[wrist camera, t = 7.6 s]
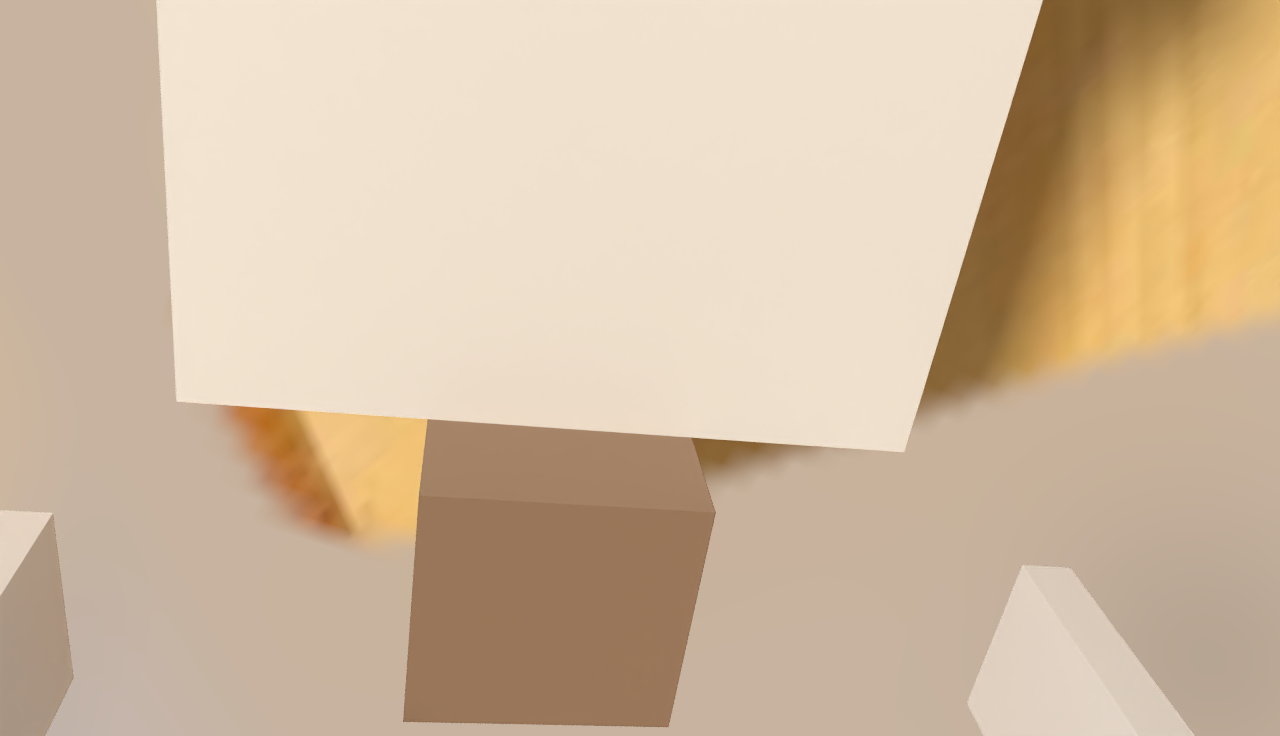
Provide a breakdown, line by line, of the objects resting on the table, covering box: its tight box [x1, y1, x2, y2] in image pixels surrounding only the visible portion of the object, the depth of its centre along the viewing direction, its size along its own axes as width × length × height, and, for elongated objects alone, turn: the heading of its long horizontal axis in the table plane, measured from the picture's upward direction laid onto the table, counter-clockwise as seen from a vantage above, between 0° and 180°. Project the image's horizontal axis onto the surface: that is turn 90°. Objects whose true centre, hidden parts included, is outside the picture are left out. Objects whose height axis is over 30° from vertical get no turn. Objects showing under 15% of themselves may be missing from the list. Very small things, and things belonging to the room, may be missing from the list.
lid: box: [156, 0, 1043, 727], centre depth 13 cm, size 20×11×4 cm, turn 171°
